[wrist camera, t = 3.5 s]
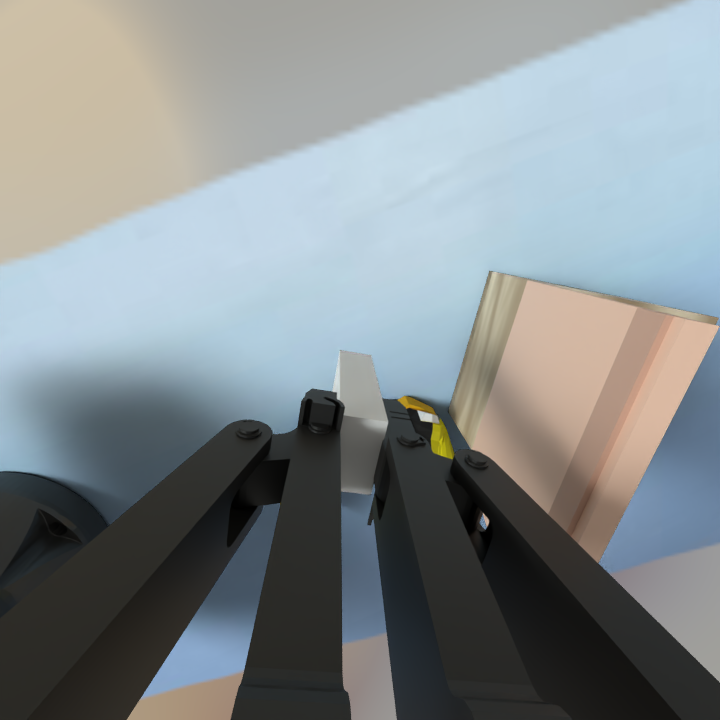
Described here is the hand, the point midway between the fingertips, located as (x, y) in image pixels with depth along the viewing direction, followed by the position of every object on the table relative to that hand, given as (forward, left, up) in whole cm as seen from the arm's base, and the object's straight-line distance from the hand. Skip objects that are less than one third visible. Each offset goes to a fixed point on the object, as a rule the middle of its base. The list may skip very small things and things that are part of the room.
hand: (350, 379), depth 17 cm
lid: (+9, 0, +2) cm, 9 cm away
